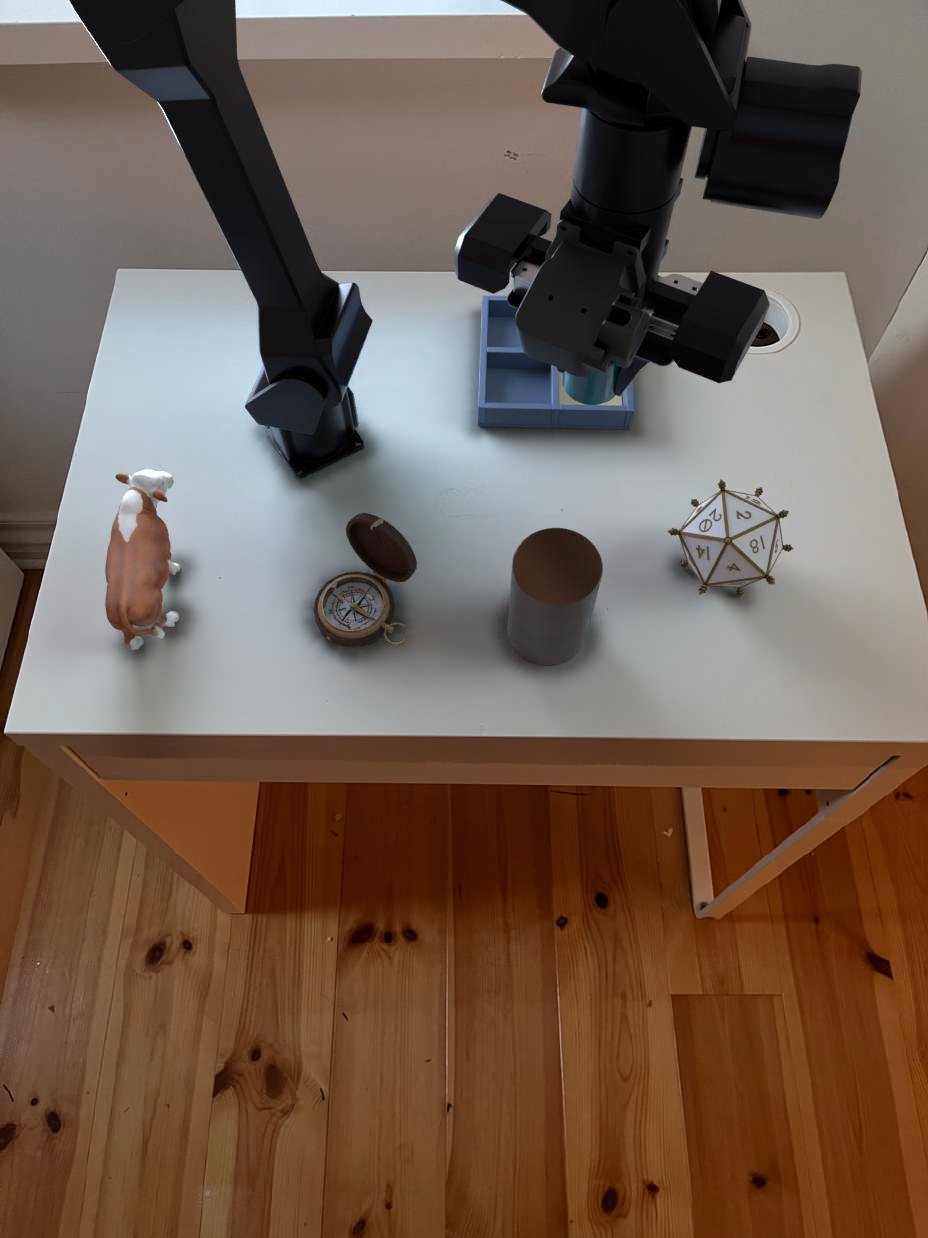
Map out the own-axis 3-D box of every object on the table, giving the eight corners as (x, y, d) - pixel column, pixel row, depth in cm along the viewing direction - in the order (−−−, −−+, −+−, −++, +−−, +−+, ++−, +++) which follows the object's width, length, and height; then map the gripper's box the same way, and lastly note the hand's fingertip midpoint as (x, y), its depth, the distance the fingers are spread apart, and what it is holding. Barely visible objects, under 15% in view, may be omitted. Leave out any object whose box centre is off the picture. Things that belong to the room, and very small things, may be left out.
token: (583, 413, 61) (590, 372, 58) (551, 375, 63) (556, 333, 59) (631, 390, 62) (640, 348, 58) (598, 353, 64) (606, 310, 60)
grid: (477, 426, 77) (478, 407, 75) (481, 315, 83) (482, 294, 80) (630, 429, 76) (634, 411, 74) (623, 317, 82) (627, 297, 80)
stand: (536, 679, 66) (545, 621, 57) (492, 618, 68) (495, 553, 60) (602, 640, 67) (621, 577, 59) (557, 581, 70) (568, 513, 61)
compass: (298, 622, 68) (279, 574, 62) (362, 549, 71) (350, 496, 65) (381, 677, 66) (371, 633, 60) (443, 599, 69) (440, 549, 63)
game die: (706, 611, 72) (695, 623, 63) (659, 517, 73) (641, 516, 64) (813, 561, 69) (818, 566, 60) (763, 464, 70) (760, 454, 61)
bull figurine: (201, 514, 73) (171, 452, 66) (175, 665, 67) (139, 614, 59) (147, 514, 73) (111, 452, 66) (116, 665, 67) (73, 614, 59)
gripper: (400, 210, 47) (416, 408, 61) (732, 338, 43) (668, 519, 57) (500, 95, 52) (494, 304, 65) (810, 200, 47) (734, 400, 61)
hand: (591, 379), depth 62 cm, fingers closed on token, 4 cm apart
